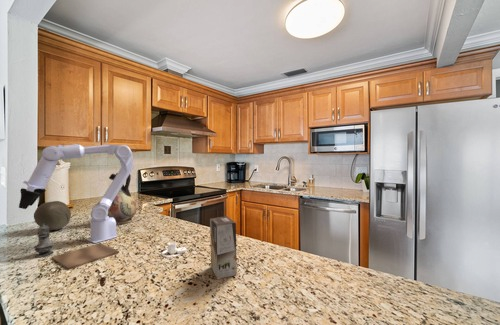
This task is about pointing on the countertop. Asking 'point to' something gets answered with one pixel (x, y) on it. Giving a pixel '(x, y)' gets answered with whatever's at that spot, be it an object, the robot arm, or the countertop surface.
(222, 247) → the coffee box
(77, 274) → the countertop surface
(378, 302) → the countertop surface
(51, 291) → the countertop surface
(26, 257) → the countertop surface
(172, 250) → the teacup and saucer
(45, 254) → the dark grey turned piece
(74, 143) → the robot arm
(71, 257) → the walnut board
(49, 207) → the grey rounded lump
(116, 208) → the ceramic jug
